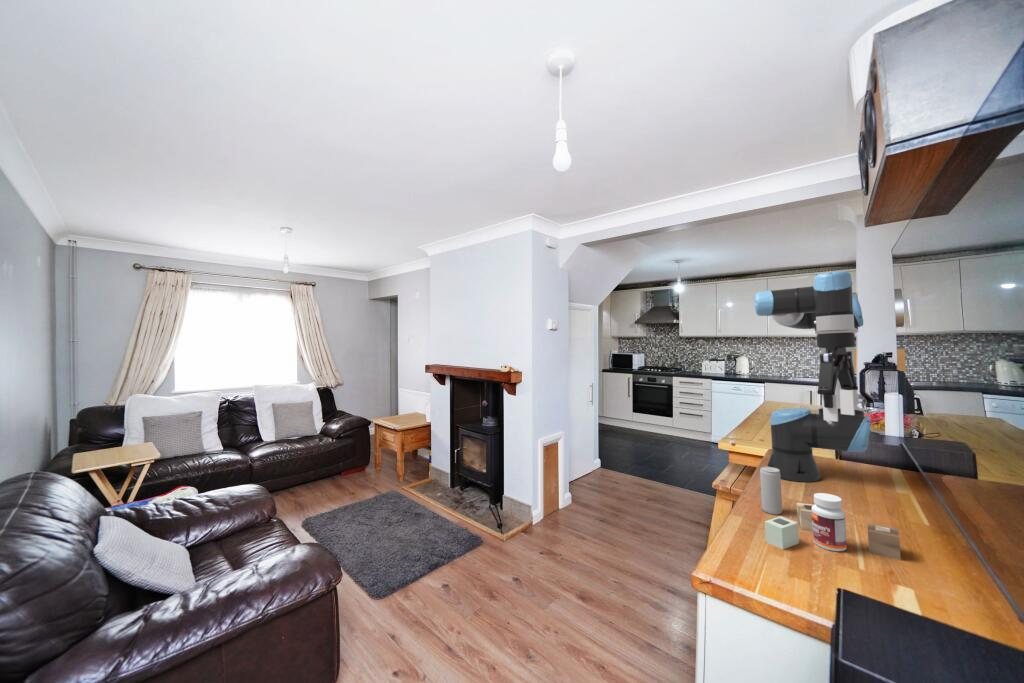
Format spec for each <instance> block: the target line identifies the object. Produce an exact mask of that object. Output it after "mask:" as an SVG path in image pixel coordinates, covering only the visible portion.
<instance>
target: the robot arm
mask: <svg viewBox="0 0 1024 683" xmlns="http://www.w3.org/2000/svg"><path fill="white" fill-rule="evenodd" d="M754 309H755V314H756V315H757V316H759V317H770V316H772V318H773V320H774V322H776V323H777V324H778V325H781V326H783V327H788V328H791V329H798V330H812V329H813V330H814V333H815V335H816V346H817V348H819V349H820V350H821V353H819V371H818V372H819V374H818V386H817V395H821V396H822V405H821V406H819V408H818V413H814V412H813V413H812V410H810V409H809V408H806V407H805V408H802V407H792V408H791V407H790V408H789V407H788V408H781V409H776V410H773V411H772V412H771V413H770V423H769V425H770V432H771V435H770V436H771V454H770V456H769V459H768V462H767V465H766V467H773V468H777V469H779V470H780V476H781V479H782V480H787V481H792V482H798V483H800V482H801V483H803V482H804V483H813V482H817V481H820V480H821V472H820V469H819V467H818V465H817V462H816V460H815V457H814V455H813V448H814V449H822V450H823V449H824V450H833V451H839V452H840V451H841V452H846V453H849V452H850V453H853V452H854V453H864V452H865V451H867V450H868V447H869V438H870V431H871V417H870V416H867V415H865V410H863V409H862V408H861V407H860V406H858V397H857V391H858V390H859V386H857V380H856V366H855V365H856V364H855V351H854V347H855V346H856V336H855V335H856V334H857V333H858V332H859V328H861V327H863V326H864V318H863V312H862V307H861V304H860V301H859V299H858V297H857V296H856V295H855V294H853V281H852V275H851V273H850V272H849V271H845V270H844V271H843V270H840V271H829V272H824V273H819V274H817V275H814V278H813V286H812V285H811V286H804V287H803V286H802V287H801V286H800V287H796V288H785V289H774V290H769V289H767V290H765V291H759V292H757V293H756V294H755V295H754Z"/></svg>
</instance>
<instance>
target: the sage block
mask: <svg viewBox="0 0 1024 683" xmlns="http://www.w3.org/2000/svg"><path fill="white" fill-rule="evenodd" d="M764 533H765V534H764V536H765V543H768V544H770V545H772V546H774V547H777V548H778V549H780V550H786V549H788V548H790V547H793V546H796V545H799V544H800V533H799V523H798V521H794V520H792V519H789V518H787V517H784V516H782V515H779V516H777V517H774V518H771V519H768V520H764Z"/></svg>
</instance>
